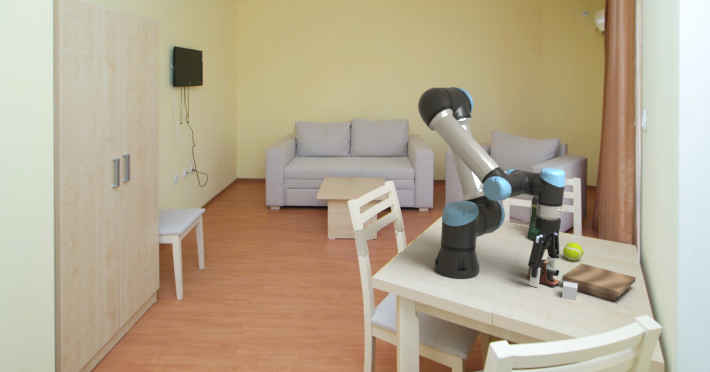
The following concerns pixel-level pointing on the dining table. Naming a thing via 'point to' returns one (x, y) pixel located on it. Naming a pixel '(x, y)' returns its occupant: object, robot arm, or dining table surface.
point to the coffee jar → (533, 220)
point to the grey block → (569, 290)
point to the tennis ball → (573, 251)
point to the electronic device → (546, 273)
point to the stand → (599, 281)
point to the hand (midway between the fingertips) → (541, 281)
